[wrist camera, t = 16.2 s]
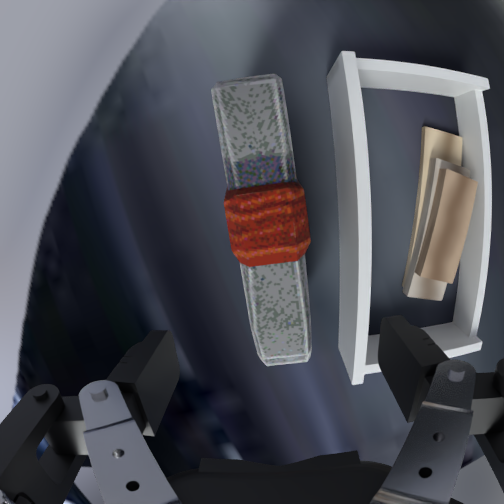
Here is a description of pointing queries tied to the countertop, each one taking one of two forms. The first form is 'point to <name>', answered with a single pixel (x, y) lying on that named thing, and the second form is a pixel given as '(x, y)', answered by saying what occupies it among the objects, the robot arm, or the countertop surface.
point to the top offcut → (447, 226)
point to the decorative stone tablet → (266, 214)
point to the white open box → (359, 201)
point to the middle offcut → (414, 282)
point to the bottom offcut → (431, 147)
